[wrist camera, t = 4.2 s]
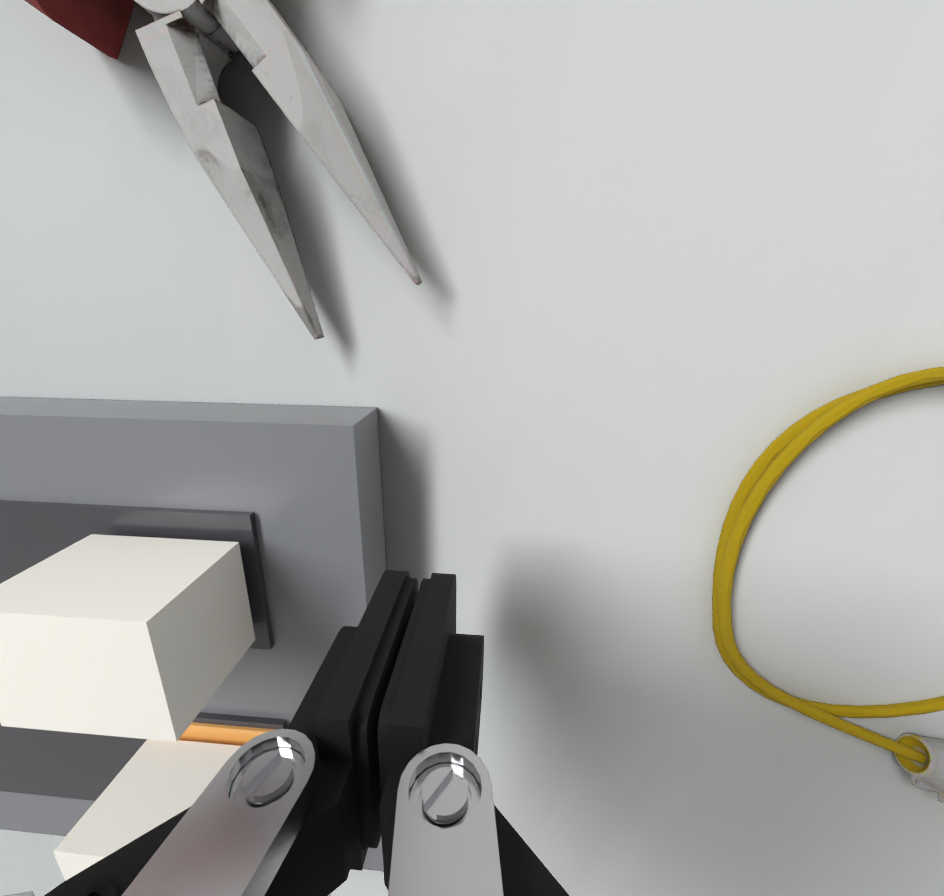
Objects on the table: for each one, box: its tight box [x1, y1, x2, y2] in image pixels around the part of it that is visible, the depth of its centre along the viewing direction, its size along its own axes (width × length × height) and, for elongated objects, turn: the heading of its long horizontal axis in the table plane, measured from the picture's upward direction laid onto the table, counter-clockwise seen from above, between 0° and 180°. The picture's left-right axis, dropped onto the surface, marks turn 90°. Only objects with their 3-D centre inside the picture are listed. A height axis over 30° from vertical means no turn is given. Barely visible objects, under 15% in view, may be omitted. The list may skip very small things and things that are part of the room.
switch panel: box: [0, 397, 386, 871], centre depth 15 cm, size 22×16×2 cm
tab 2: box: [53, 739, 241, 881], centre depth 13 cm, size 4×3×3 cm
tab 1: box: [0, 534, 255, 742], centre depth 10 cm, size 4×3×3 cm
